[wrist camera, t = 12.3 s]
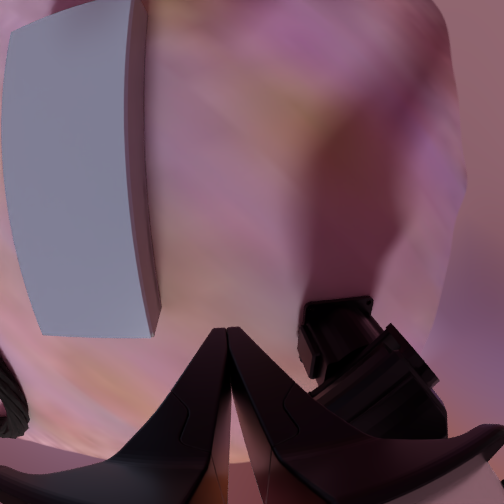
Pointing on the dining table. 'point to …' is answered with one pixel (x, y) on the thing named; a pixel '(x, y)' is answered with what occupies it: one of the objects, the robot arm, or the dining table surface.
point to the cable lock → (12, 406)
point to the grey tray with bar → (140, 161)
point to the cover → (74, 171)
